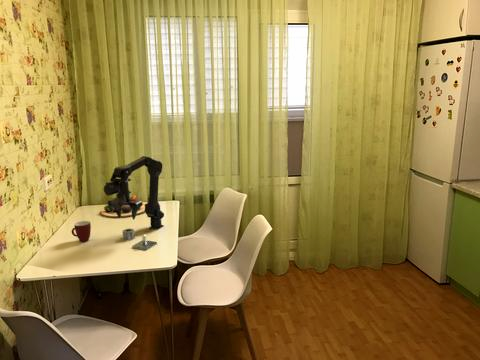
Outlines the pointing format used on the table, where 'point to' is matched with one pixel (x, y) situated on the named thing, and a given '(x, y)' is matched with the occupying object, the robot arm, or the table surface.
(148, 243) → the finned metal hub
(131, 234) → the hub ring
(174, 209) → the table surface
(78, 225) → the mug
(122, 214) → the wooden plate with food
